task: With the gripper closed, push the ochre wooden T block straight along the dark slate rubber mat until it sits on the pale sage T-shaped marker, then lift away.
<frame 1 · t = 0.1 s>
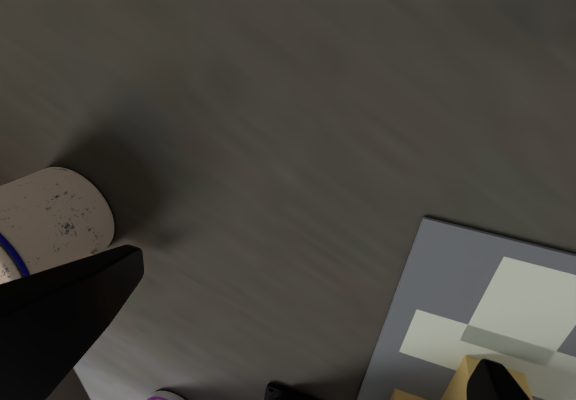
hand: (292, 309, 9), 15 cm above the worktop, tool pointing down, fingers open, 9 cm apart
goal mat: (493, 360, 25), on the worktop
teacup with lid: (90, 218, 32), on the worktop
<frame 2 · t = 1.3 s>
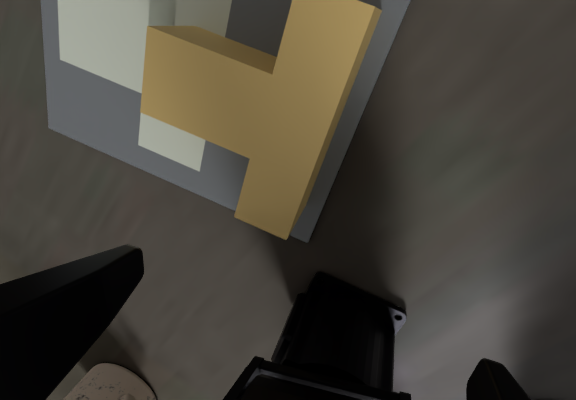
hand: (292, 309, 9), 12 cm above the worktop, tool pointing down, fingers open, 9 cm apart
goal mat: (192, 63, 20), on the worktop
t block: (261, 92, 19), resting on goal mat
teacup with lid: (132, 384, 38), on the worktop
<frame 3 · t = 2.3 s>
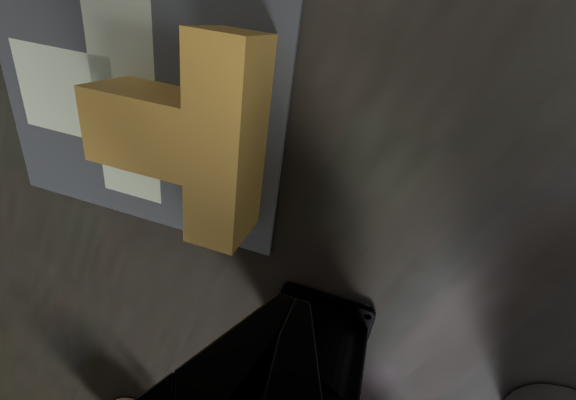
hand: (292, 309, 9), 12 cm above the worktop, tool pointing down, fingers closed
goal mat: (134, 107, 22), on the worktop
t block: (196, 123, 21), resting on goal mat
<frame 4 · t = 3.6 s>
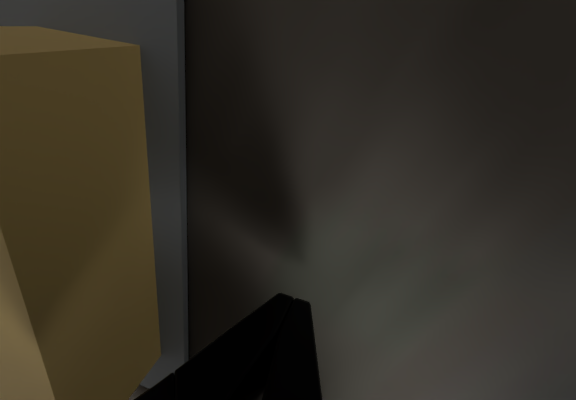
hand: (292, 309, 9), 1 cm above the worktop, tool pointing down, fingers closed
t block: (35, 201, 12), resting on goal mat
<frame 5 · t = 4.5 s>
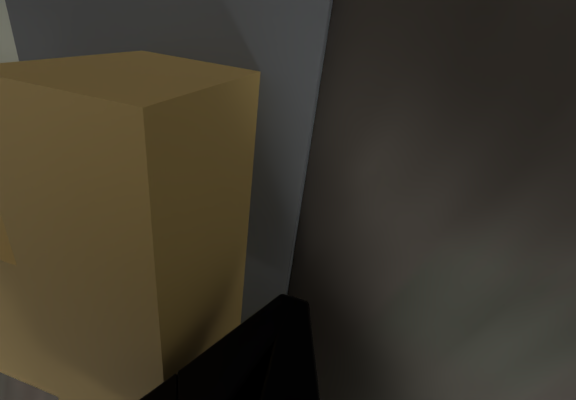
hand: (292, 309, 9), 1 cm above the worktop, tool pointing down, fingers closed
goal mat: (19, 194, 12), on the worktop
t block: (114, 228, 11), resting on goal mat, touching gripper
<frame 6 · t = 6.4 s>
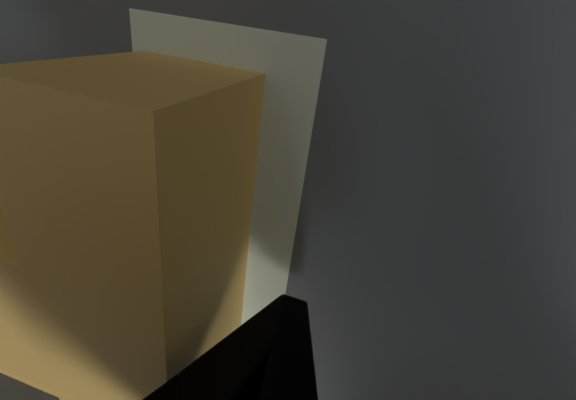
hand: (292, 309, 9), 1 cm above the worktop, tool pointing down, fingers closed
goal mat: (234, 256, 11), on the worktop
t block: (115, 228, 11), resting on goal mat, touching gripper
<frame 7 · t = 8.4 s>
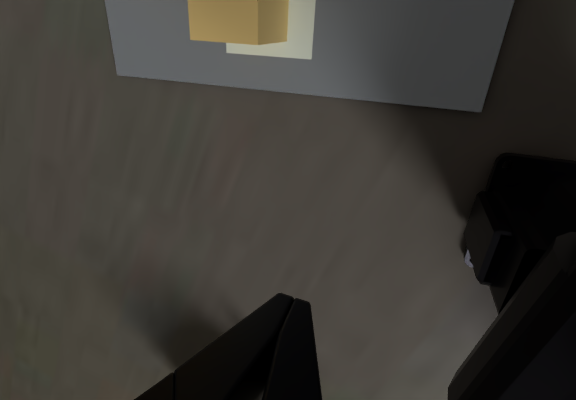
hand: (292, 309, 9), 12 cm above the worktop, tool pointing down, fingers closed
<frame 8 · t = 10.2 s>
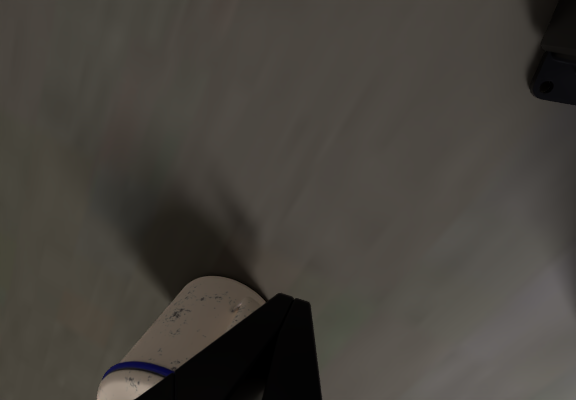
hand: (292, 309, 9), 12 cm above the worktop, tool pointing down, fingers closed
teacup with lid: (238, 306, 27), on the worktop
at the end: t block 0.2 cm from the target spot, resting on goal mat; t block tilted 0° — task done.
